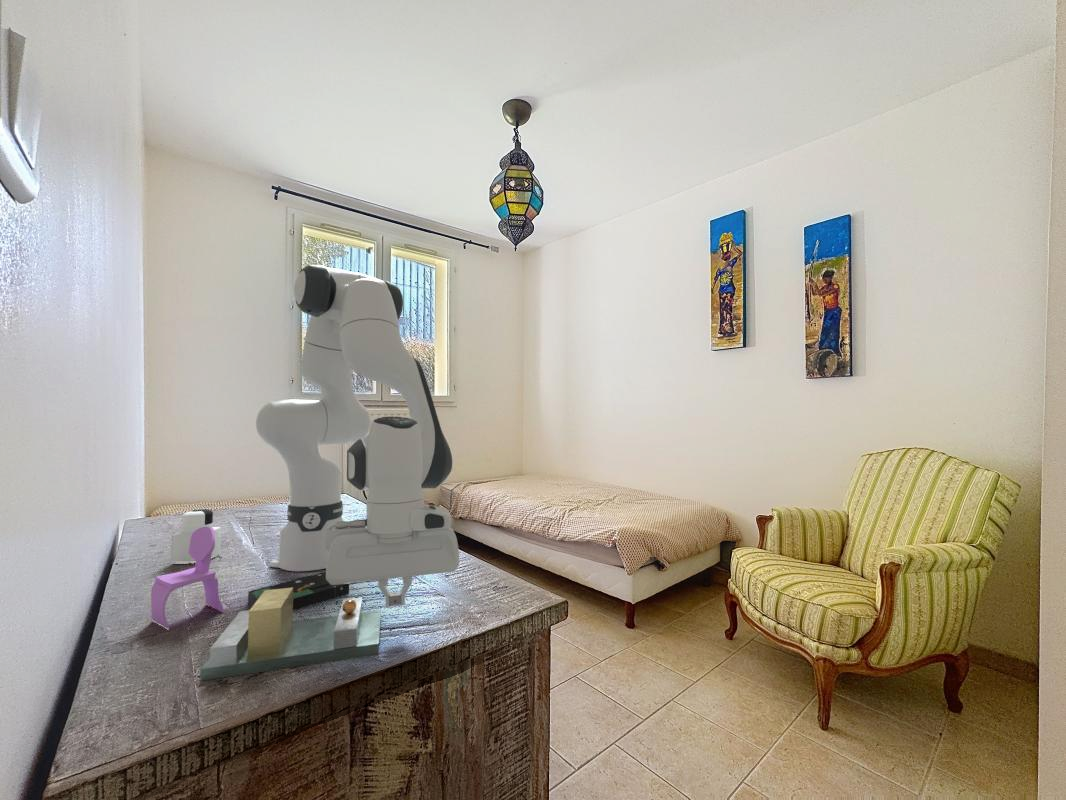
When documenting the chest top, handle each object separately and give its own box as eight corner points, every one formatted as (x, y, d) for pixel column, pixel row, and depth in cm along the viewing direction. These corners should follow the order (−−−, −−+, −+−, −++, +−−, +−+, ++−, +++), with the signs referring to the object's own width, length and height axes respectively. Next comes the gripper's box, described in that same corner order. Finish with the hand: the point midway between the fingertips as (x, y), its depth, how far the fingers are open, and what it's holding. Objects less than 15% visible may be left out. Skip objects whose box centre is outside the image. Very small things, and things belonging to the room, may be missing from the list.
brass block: (247, 655, 62) (248, 611, 62) (263, 629, 69) (264, 590, 70) (280, 650, 63) (281, 607, 63) (292, 625, 70) (293, 587, 71)
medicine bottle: (190, 556, 112) (191, 508, 113) (220, 555, 113) (221, 507, 113) (170, 565, 105) (172, 514, 105) (202, 564, 106) (204, 513, 106)
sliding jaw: (343, 614, 74) (343, 587, 75) (362, 611, 75) (362, 585, 76) (333, 649, 63) (334, 617, 63) (356, 646, 64) (356, 614, 64)
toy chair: (146, 621, 76) (149, 532, 76) (205, 603, 83) (208, 522, 84) (166, 633, 71) (169, 538, 72) (227, 613, 79) (229, 527, 79)
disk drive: (326, 584, 94) (246, 605, 83) (326, 570, 94) (246, 590, 83) (350, 596, 88) (267, 621, 76) (350, 582, 88) (267, 605, 76)
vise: (232, 638, 70) (232, 612, 70) (380, 619, 76) (381, 595, 76) (200, 680, 58) (201, 649, 58) (378, 654, 65) (378, 626, 65)
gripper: (321, 526, 66) (320, 622, 65) (460, 516, 72) (461, 604, 71) (327, 518, 72) (326, 606, 71) (455, 509, 78) (455, 590, 77)
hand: (395, 605), depth 71 cm, fingers closed
